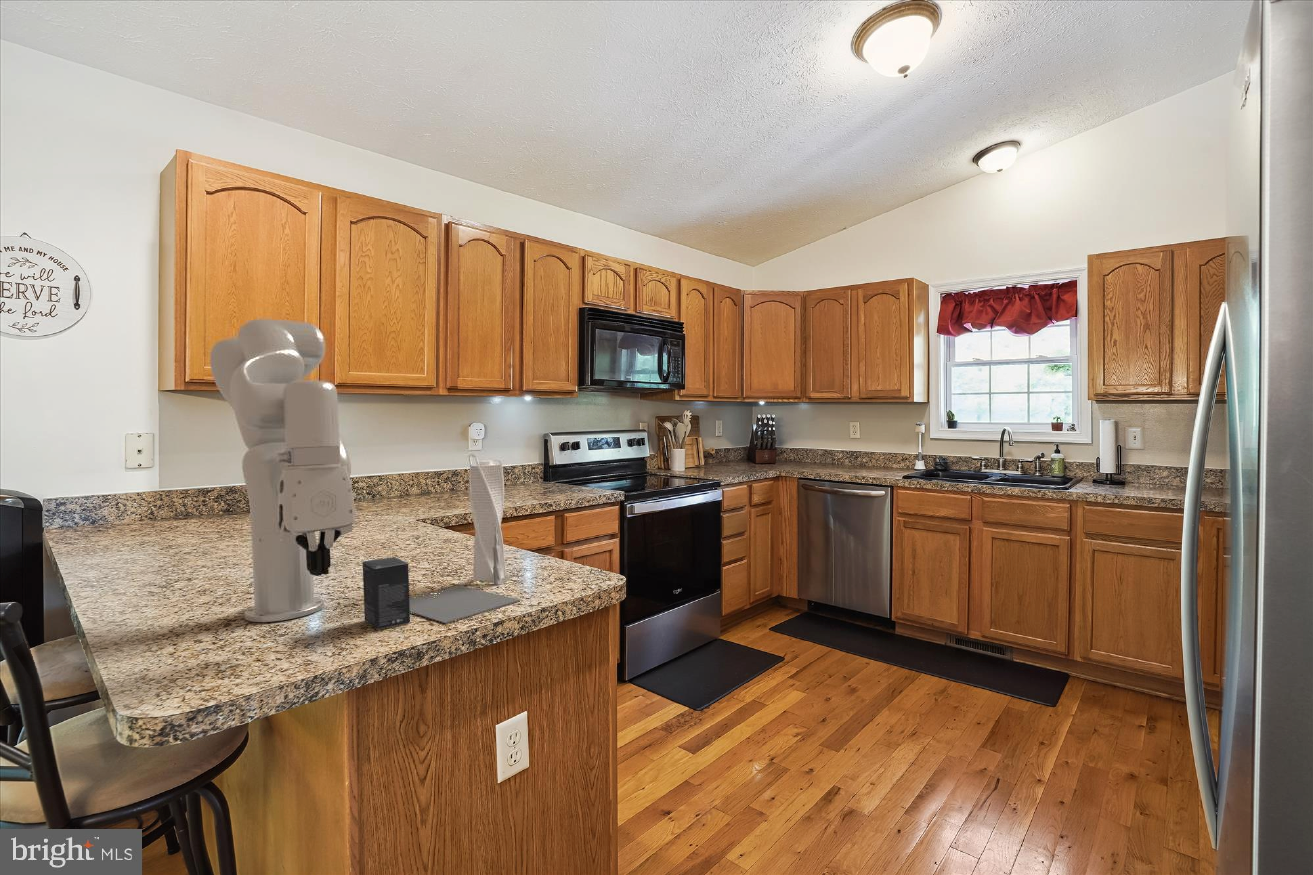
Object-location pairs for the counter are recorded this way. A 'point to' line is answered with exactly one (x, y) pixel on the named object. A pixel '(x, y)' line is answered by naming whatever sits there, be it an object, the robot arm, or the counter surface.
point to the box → (386, 592)
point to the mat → (457, 603)
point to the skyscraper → (487, 520)
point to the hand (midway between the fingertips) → (319, 573)
